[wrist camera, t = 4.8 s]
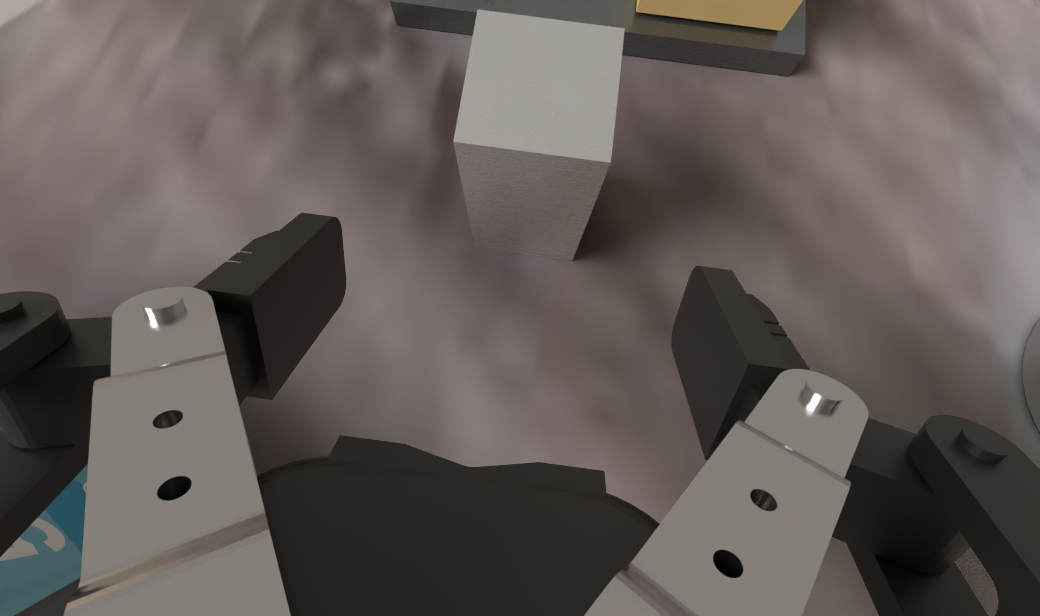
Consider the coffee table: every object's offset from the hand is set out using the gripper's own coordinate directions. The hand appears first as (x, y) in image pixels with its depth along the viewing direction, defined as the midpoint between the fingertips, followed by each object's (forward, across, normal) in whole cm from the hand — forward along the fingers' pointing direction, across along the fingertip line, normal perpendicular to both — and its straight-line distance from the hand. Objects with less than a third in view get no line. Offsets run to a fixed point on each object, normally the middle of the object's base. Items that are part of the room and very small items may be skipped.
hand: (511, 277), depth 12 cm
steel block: (+12, 0, +3) cm, 13 cm away
